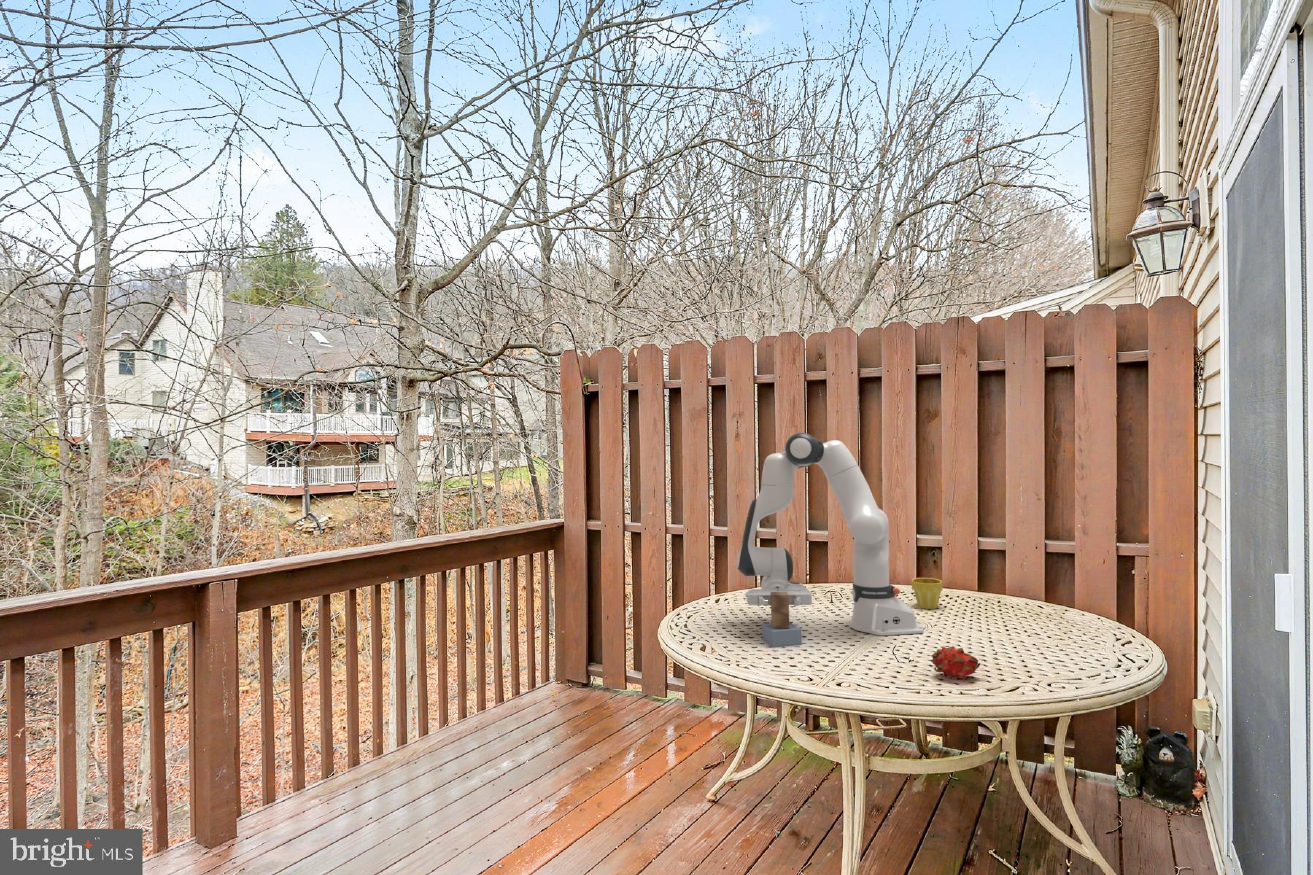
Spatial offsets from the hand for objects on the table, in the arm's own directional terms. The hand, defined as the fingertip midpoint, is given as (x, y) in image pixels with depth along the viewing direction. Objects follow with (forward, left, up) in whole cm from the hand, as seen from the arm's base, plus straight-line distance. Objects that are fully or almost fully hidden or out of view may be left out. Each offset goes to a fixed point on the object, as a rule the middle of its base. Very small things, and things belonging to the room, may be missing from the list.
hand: (781, 603), depth 196 cm
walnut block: (0, -1, -7) cm, 7 cm away
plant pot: (-57, -43, -12) cm, 73 cm away
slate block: (0, -1, -12) cm, 12 cm away
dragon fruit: (-41, +29, -12) cm, 51 cm away
